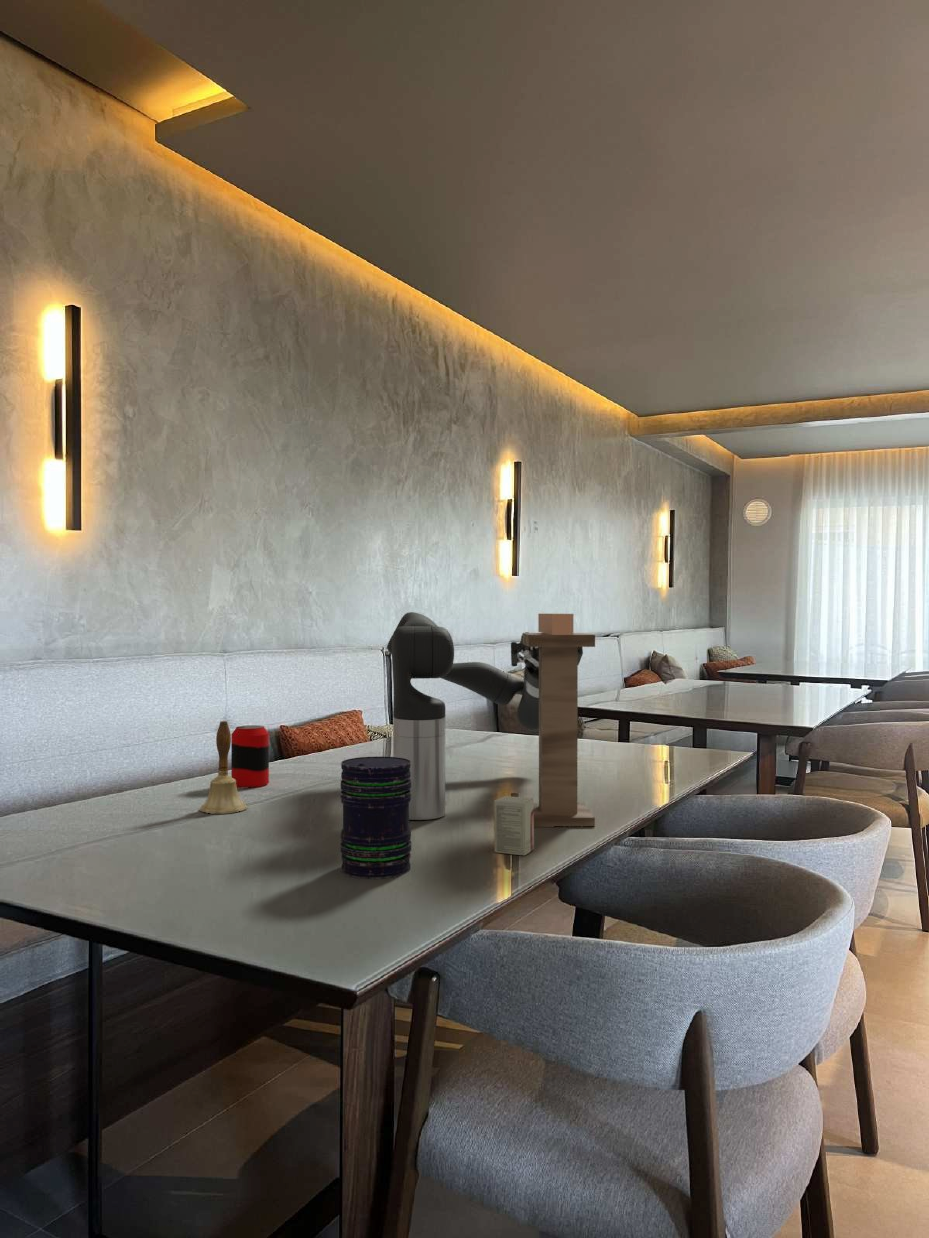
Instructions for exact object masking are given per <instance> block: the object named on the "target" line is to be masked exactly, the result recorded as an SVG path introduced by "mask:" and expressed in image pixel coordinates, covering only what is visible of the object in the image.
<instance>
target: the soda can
mask: <svg viewBox="0 0 929 1238" xmlns="http://www.w3.org/2000/svg"><path fill="white" fill-rule="evenodd" d="M230 734H231V745H230V749H231V752H230V753H231V755H230V757H231V759H230V760H231V766H230V767H231V772H230V773H231V776H230V777H231V778H234V779H235V780H236V786H237V788H238V787H257V788H262V787H261V786H263V787H265V786H264V785H266V786H268V784H269V782H270V761H269V760H270V741H269V739H270V735H269V734H270V733H269V731H268V730H267V728H266V727H265V726H264V725H252V724H251V725H240V726H239V725H238V726H236V728H235V729H233V731H232V733H230Z"/></svg>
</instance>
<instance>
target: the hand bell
mask: <svg viewBox="0 0 929 1238" xmlns="http://www.w3.org/2000/svg"><path fill="white" fill-rule="evenodd" d="M231 734H232V733H231V730H230V728H229V723H228V721H227V720H226V721H225V720H222V721H220V722H219V726H218V728H217V731H216V738H215V739H216V748H217V752H218V753H217V754H218V774H217V776H216V777H214V778H213V779H211V781H210V784H209V792H208V796H207V798H206V800H205V802H204V804H202V805H201V807H200V808H199V811H203V812H206V813H205V814H208V813H210V814H209V815H224V814H232V813H239V811H240V812H243V811H246V810H247V809H246V808H248V806H247V805H246V803H245V802H243V800H242V798H241V797H240V795H239V791H238V787H237V786H236V780H235V779H234V778H231V776H230V775H229V767H228V766H229V760H228V759H229V752H230V749H231ZM203 812H202V813H203Z"/></svg>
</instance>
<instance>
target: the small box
mask: <svg viewBox="0 0 929 1238" xmlns="http://www.w3.org/2000/svg"><path fill="white" fill-rule="evenodd" d="M534 803H535V801H534V797H521V796H509V795H503V796H501V797H499V798H497V799H495V800H493V812H494V813H493V814H494V815H493V816H494V817H493V821H494V822H493V825H494V827H493V828H494V833H493V834H494V835H493V836H494V839H493V840H494V853H499V854H510V855H514V856H515V855H517V856H518V855H519V856H527V855H528V854H529V853H530V852H533V850H534V849H535V827H534Z"/></svg>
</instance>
